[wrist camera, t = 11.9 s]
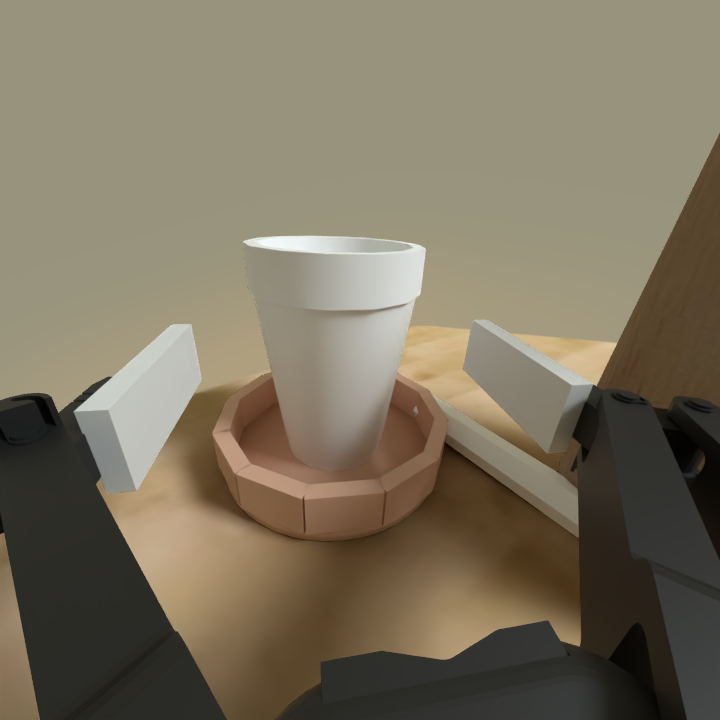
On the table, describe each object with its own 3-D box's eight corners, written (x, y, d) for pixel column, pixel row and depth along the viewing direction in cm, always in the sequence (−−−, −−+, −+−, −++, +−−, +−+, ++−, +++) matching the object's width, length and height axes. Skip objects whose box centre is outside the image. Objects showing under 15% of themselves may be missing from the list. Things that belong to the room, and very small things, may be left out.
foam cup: (380, 397, 28) (392, 237, 22) (423, 476, 20) (459, 255, 14) (266, 408, 26) (249, 234, 20) (262, 501, 18) (230, 252, 12)
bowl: (191, 557, 15) (178, 510, 14) (246, 396, 29) (242, 364, 27) (478, 527, 18) (490, 483, 16) (405, 390, 31) (409, 360, 29)
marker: (663, 609, 15) (415, 424, 26) (680, 575, 16) (433, 409, 27) (688, 594, 13) (412, 403, 24) (706, 555, 14) (430, 387, 25)
